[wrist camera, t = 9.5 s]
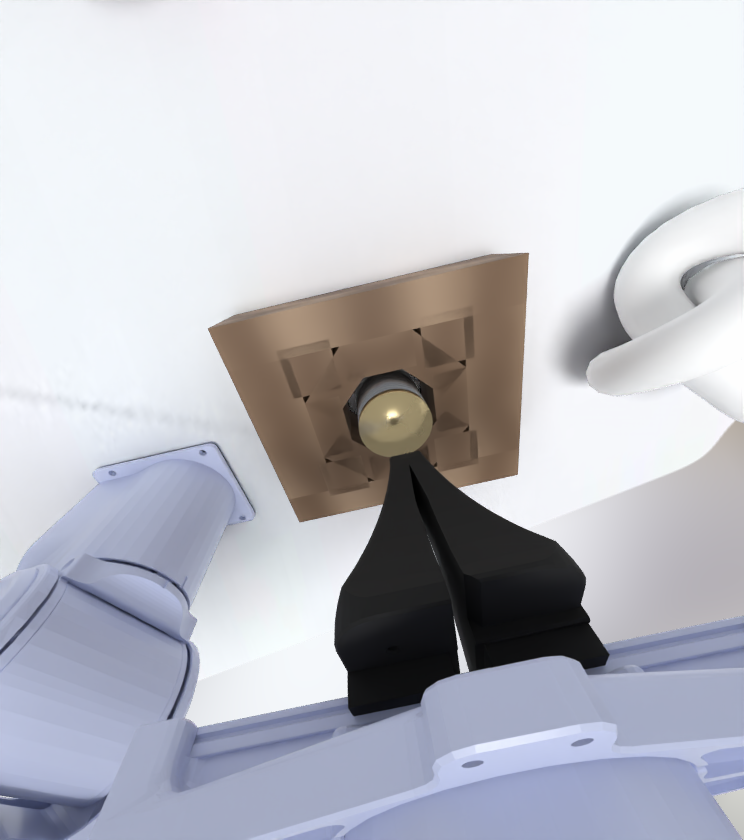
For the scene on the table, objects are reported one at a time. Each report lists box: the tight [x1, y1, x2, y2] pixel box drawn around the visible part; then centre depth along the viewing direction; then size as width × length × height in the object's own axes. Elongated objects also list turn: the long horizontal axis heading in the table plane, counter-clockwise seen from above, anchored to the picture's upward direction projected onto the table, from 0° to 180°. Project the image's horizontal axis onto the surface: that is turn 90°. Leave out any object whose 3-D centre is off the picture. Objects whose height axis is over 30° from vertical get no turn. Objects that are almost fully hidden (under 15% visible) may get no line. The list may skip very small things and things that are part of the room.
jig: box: [208, 253, 529, 522], centre depth 19 cm, size 16×14×4 cm
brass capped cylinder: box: [355, 369, 433, 457], centre depth 18 cm, size 4×4×6 cm
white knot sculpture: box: [586, 188, 744, 423], centre depth 16 cm, size 11×12×9 cm
